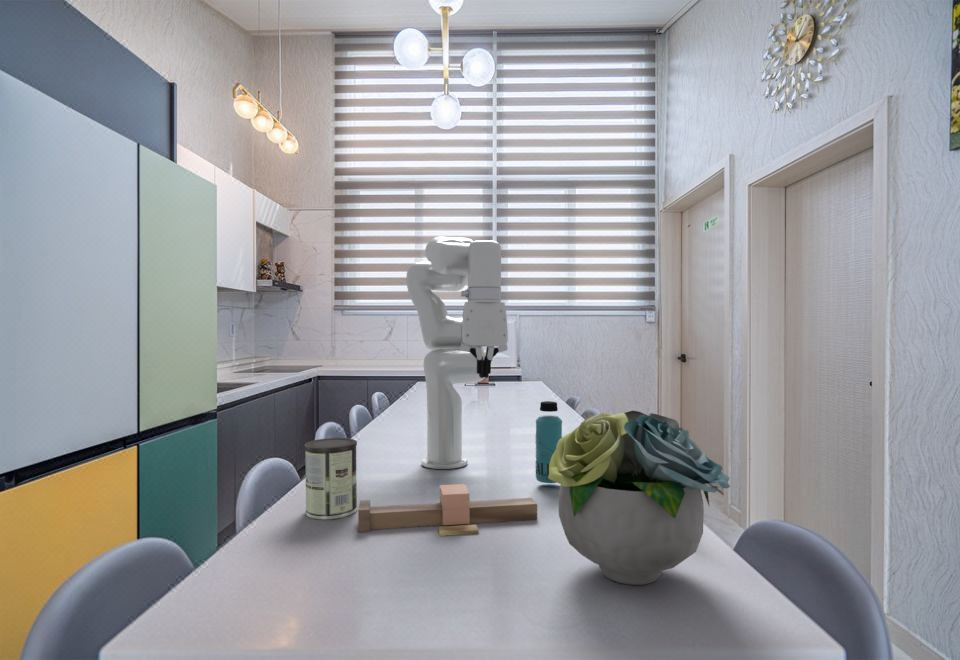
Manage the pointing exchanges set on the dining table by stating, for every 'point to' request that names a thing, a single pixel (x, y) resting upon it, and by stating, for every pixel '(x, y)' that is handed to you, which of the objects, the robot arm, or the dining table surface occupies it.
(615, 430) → the flower arrangement
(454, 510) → the block
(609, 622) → the dining table surface
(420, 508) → the beam
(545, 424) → the beverage bottle
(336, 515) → the coffee can
